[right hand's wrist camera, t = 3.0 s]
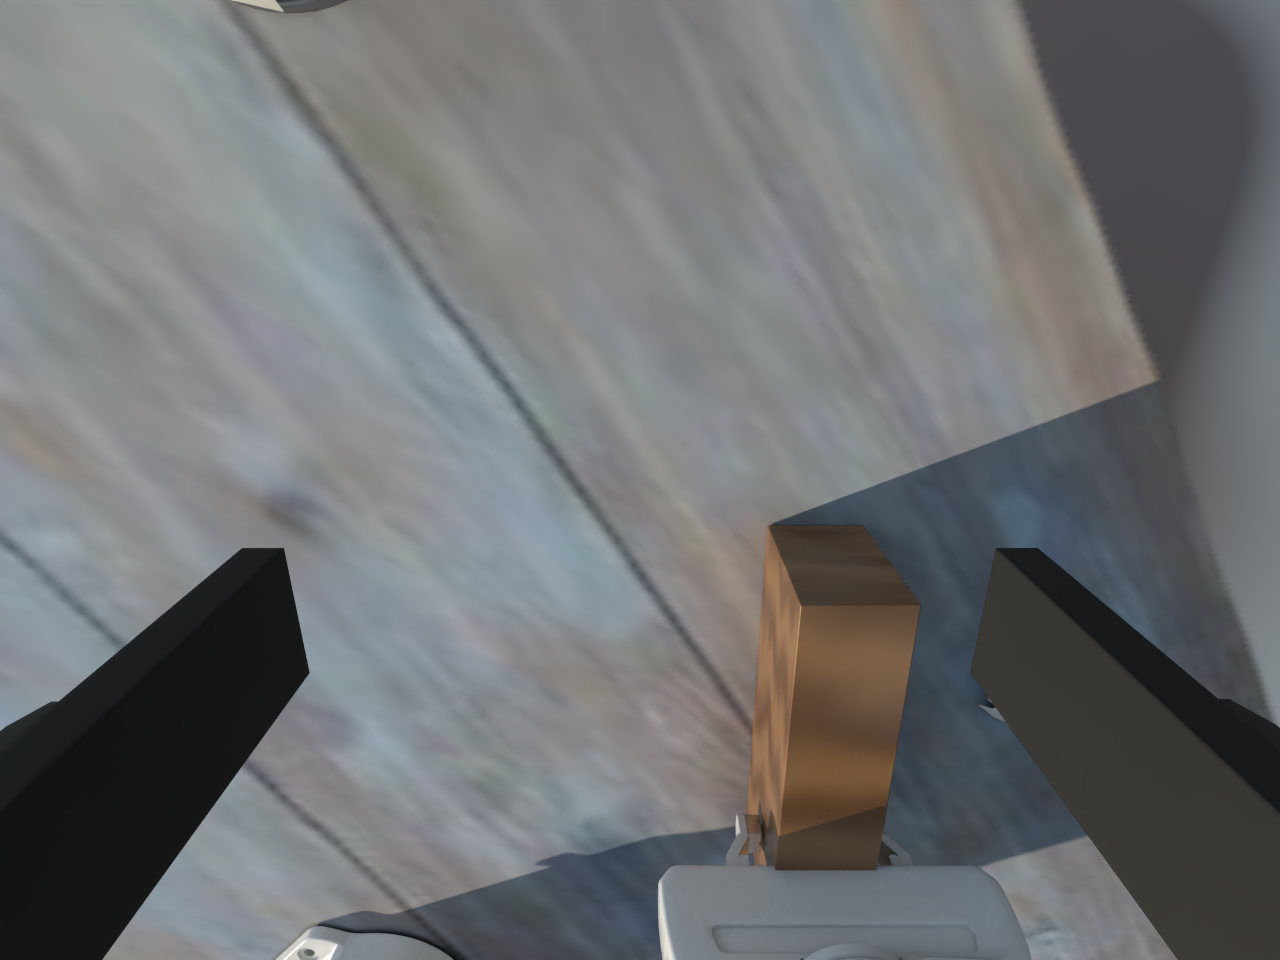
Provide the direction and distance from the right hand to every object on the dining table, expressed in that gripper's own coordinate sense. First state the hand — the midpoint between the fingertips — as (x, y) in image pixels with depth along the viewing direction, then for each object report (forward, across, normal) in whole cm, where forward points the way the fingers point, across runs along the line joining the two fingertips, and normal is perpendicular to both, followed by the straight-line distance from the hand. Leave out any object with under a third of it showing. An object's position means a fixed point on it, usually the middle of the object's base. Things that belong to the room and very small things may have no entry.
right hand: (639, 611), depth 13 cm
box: (+28, +11, -24) cm, 39 cm away
